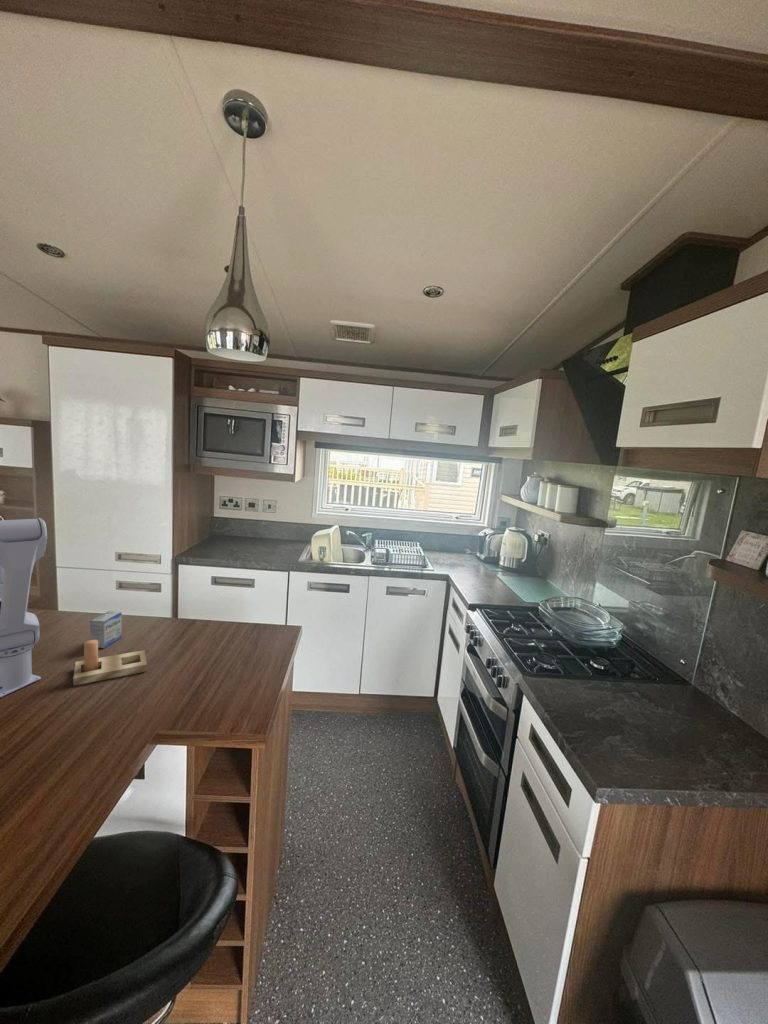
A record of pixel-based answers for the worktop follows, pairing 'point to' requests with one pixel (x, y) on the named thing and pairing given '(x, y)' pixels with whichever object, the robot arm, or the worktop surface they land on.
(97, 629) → the medicine box
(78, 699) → the worktop surface
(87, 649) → the peg
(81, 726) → the worktop surface
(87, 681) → the hole block
